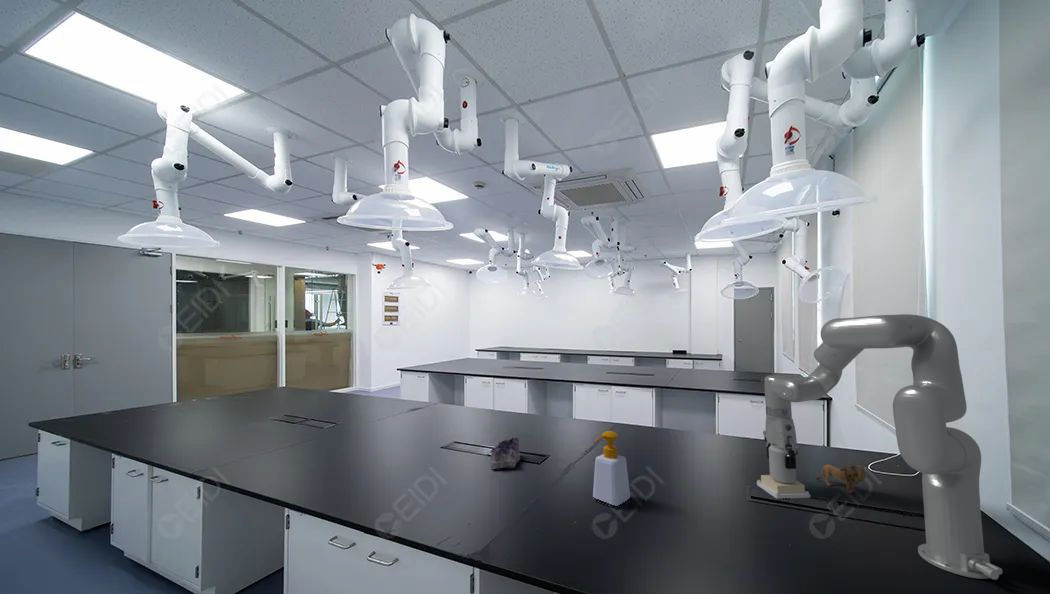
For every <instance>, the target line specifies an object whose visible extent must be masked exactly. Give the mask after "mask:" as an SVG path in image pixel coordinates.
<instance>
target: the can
mask: <svg viewBox="0 0 1050 594" xmlns="http://www.w3.org/2000/svg"><path fill="white" fill-rule="evenodd" d="M786 447H788V446H786ZM790 451H791V450H788V452H790ZM785 456H786V454H785V452H784V449H782V448H780V447H777V446H775V445H773V444H772V443H771V446H770V447H769V458H768V461H769V462H768V463H769V475H770V477H771V478H772V479H773V480H774V481H776V482H779V483H783V484H792V483H793V482H795V481H797V471H796V470H797V468H796V469H787V468H786V467H785Z"/></svg>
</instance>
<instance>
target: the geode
mask: <svg viewBox="0 0 1050 594" xmlns="http://www.w3.org/2000/svg"><path fill="white" fill-rule="evenodd" d="M519 442H520V440H519V438H518V437H515V438H514V437H511V438H510V439H505V440H502V441H499V442H498V444H497V445H496V446H494V447H492V449H491V450H490V452H491V454H490V458H489V459H490V460H489V465H490V466H489V467H492V468H494V469H496V470H500V469H499V468H508V469H515V468H516V466H517V464H518V463H520V462H519V460H520V459H521V456H520V455H521V454H520V448H519ZM520 461H521V460H520ZM492 468H491V469H492Z"/></svg>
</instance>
